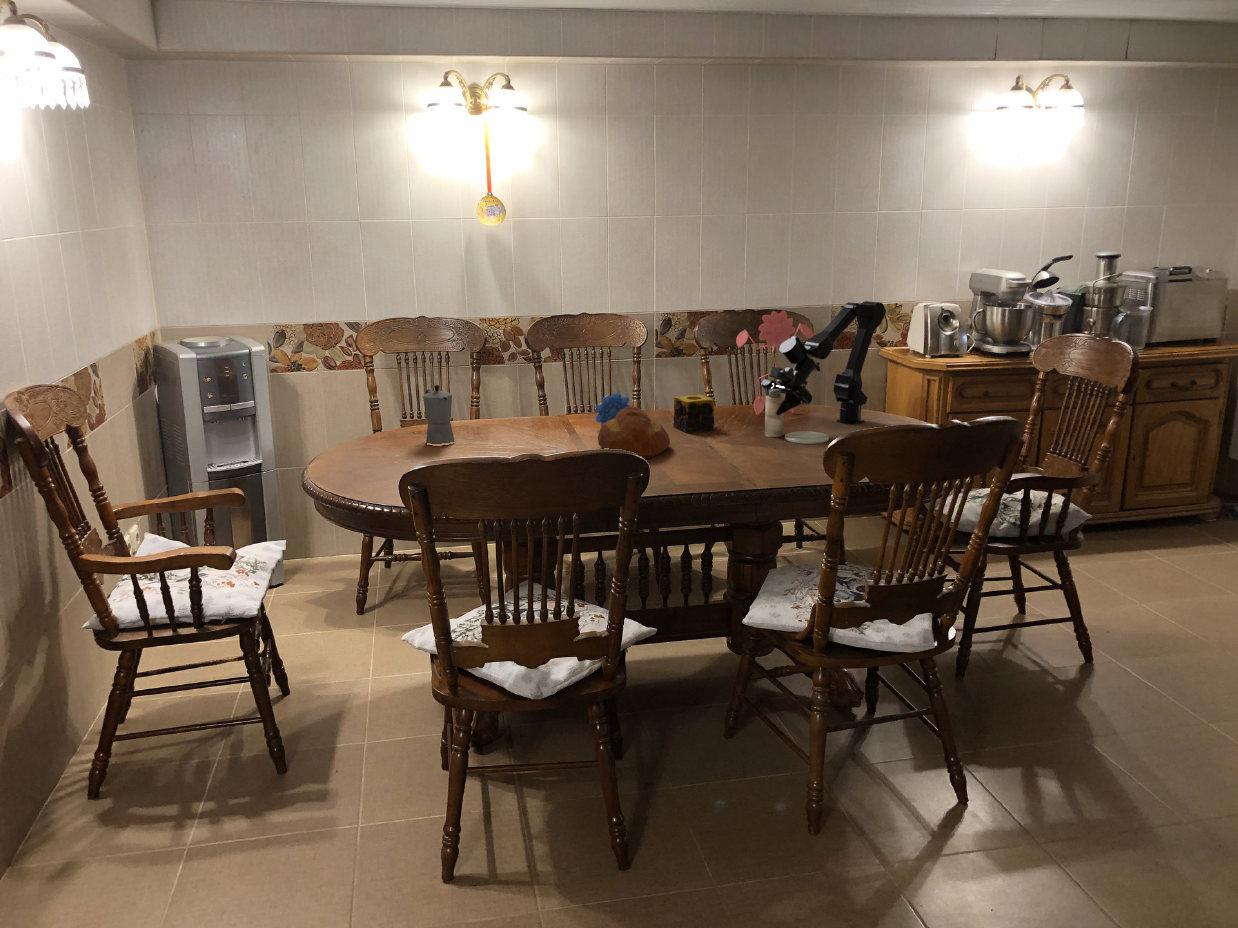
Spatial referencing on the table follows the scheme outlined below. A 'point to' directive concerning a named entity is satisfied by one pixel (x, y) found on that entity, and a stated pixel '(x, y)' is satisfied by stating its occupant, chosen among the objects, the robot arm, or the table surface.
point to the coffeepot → (438, 416)
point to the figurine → (773, 341)
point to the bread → (634, 433)
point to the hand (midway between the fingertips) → (770, 413)
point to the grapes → (611, 407)
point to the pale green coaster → (806, 437)
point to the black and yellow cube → (693, 413)
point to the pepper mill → (773, 414)
